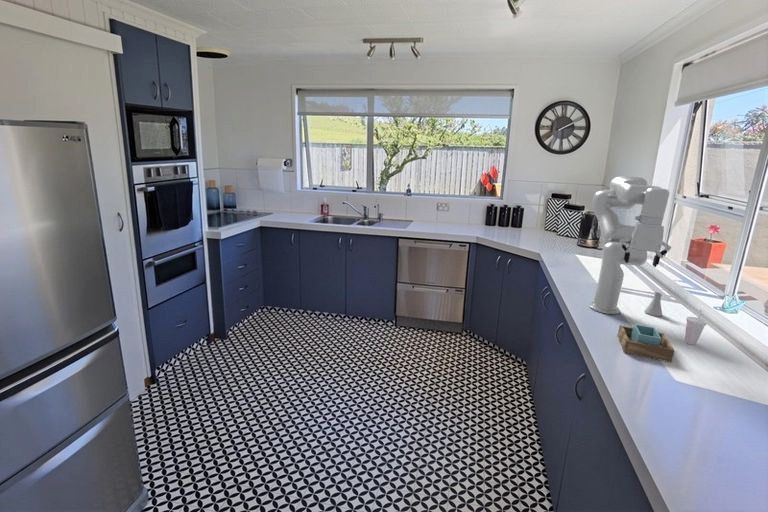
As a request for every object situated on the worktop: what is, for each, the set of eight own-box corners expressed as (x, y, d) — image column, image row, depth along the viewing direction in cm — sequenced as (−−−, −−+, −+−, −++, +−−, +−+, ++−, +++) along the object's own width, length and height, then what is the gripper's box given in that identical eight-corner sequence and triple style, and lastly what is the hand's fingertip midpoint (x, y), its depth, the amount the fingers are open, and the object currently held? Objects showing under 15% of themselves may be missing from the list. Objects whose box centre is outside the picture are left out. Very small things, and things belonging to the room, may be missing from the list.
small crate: (630, 338, 161) (633, 323, 159) (651, 342, 158) (654, 327, 157) (635, 349, 152) (639, 334, 150) (657, 353, 149) (661, 338, 148)
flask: (645, 309, 195) (650, 289, 192) (663, 314, 191) (668, 293, 188) (642, 313, 190) (647, 293, 187) (661, 318, 185) (666, 297, 183)
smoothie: (691, 347, 159) (701, 313, 155) (676, 339, 165) (685, 306, 161) (704, 346, 161) (714, 312, 157) (688, 338, 166) (698, 305, 163)
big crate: (617, 335, 164) (619, 325, 163) (660, 344, 160) (663, 333, 158) (623, 352, 151) (626, 341, 150) (671, 362, 146) (674, 350, 145)
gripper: (626, 219, 157) (616, 262, 162) (679, 225, 152) (668, 270, 156) (623, 216, 164) (614, 258, 169) (674, 222, 158) (663, 265, 163)
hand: (640, 264), depth 163 cm, fingers open, 9 cm apart
